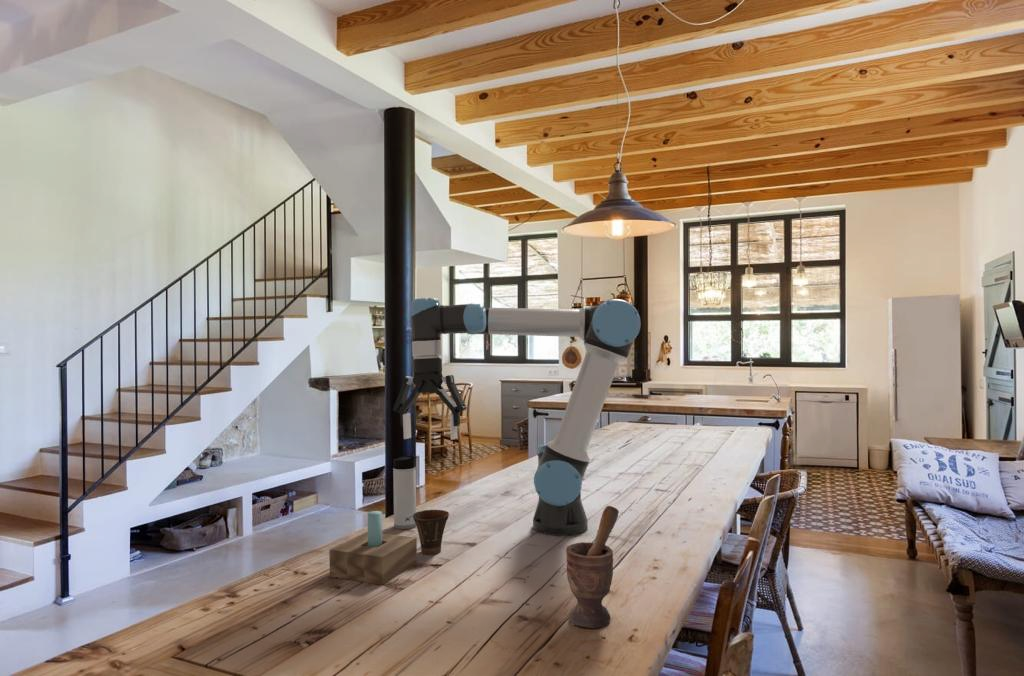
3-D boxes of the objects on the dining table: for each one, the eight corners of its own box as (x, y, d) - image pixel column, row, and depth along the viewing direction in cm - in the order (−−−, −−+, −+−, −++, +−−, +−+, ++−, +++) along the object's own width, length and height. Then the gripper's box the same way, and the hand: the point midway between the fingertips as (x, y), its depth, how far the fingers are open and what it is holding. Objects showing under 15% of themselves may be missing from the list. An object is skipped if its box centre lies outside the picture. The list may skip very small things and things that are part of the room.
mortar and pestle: (584, 601, 124) (582, 500, 124) (626, 609, 120) (624, 505, 120) (559, 624, 114) (557, 514, 114) (604, 634, 110) (602, 520, 110)
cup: (458, 543, 159) (454, 505, 158) (443, 559, 150) (438, 520, 149) (427, 541, 162) (422, 504, 161) (410, 557, 153) (406, 518, 152)
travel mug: (413, 530, 173) (411, 457, 173) (390, 529, 174) (389, 457, 175) (420, 523, 179) (419, 453, 179) (399, 522, 181) (398, 453, 181)
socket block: (416, 563, 147) (416, 537, 147) (382, 584, 134) (382, 556, 134) (367, 556, 152) (366, 531, 152) (329, 576, 139) (329, 549, 139)
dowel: (384, 563, 144) (384, 511, 144) (376, 568, 141) (376, 515, 141) (373, 562, 145) (373, 510, 145) (364, 566, 142) (364, 513, 142)
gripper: (476, 355, 163) (480, 436, 163) (392, 358, 171) (396, 435, 171) (464, 356, 156) (468, 441, 156) (378, 359, 164) (381, 440, 164)
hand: (430, 438), depth 163 cm, fingers open, 13 cm apart
